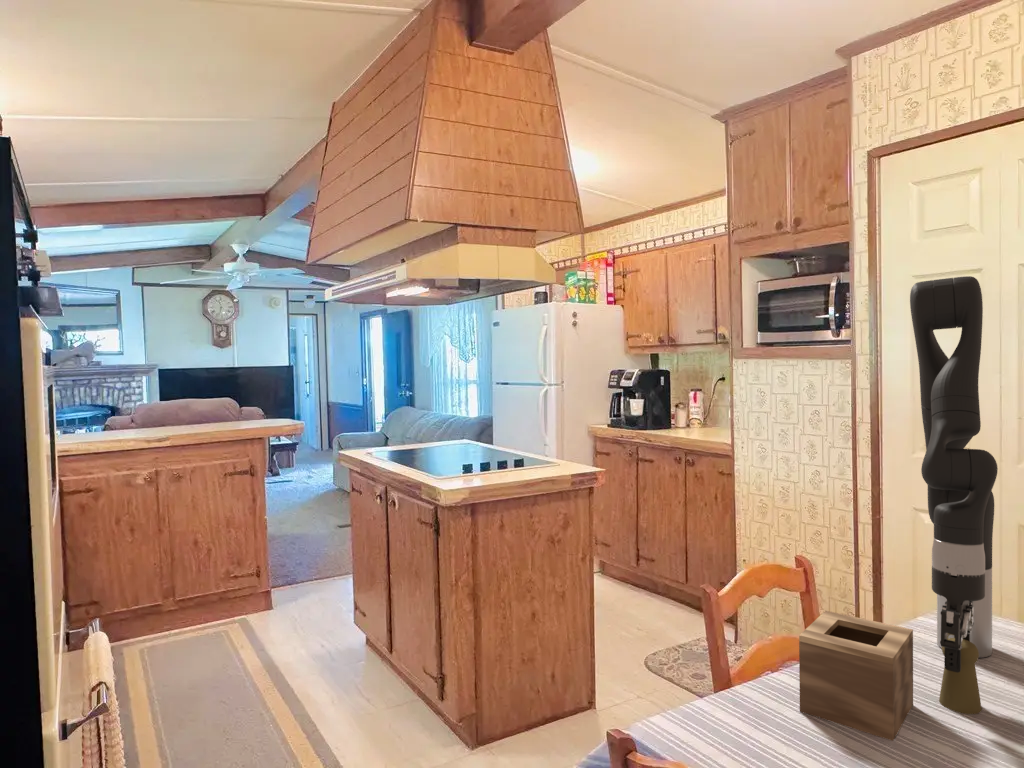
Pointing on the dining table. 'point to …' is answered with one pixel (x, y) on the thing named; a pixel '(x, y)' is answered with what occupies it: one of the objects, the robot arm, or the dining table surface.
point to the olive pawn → (962, 683)
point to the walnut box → (857, 673)
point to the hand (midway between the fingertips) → (957, 662)
